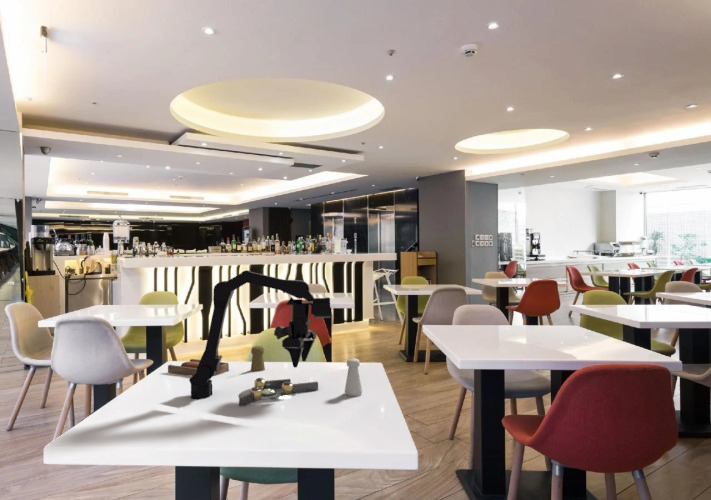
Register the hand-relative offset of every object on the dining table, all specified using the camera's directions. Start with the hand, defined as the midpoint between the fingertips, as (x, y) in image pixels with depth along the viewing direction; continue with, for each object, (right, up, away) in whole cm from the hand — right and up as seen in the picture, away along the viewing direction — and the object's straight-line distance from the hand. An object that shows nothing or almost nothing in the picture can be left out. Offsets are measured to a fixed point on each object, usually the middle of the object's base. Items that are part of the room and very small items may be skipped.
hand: (299, 364), depth 155 cm
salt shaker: (+18, -11, -3) cm, 21 cm away
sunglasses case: (-45, -13, +37) cm, 60 cm away
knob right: (0, -9, 0) cm, 9 cm away
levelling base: (-11, -11, -4) cm, 16 cm away
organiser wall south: (-37, -12, +31) cm, 50 cm away
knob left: (-10, -10, +5) cm, 15 cm away
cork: (-21, -12, +32) cm, 40 cm away
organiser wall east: (-44, -12, +41) cm, 62 cm away
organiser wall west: (-49, -12, +30) cm, 59 cm away
